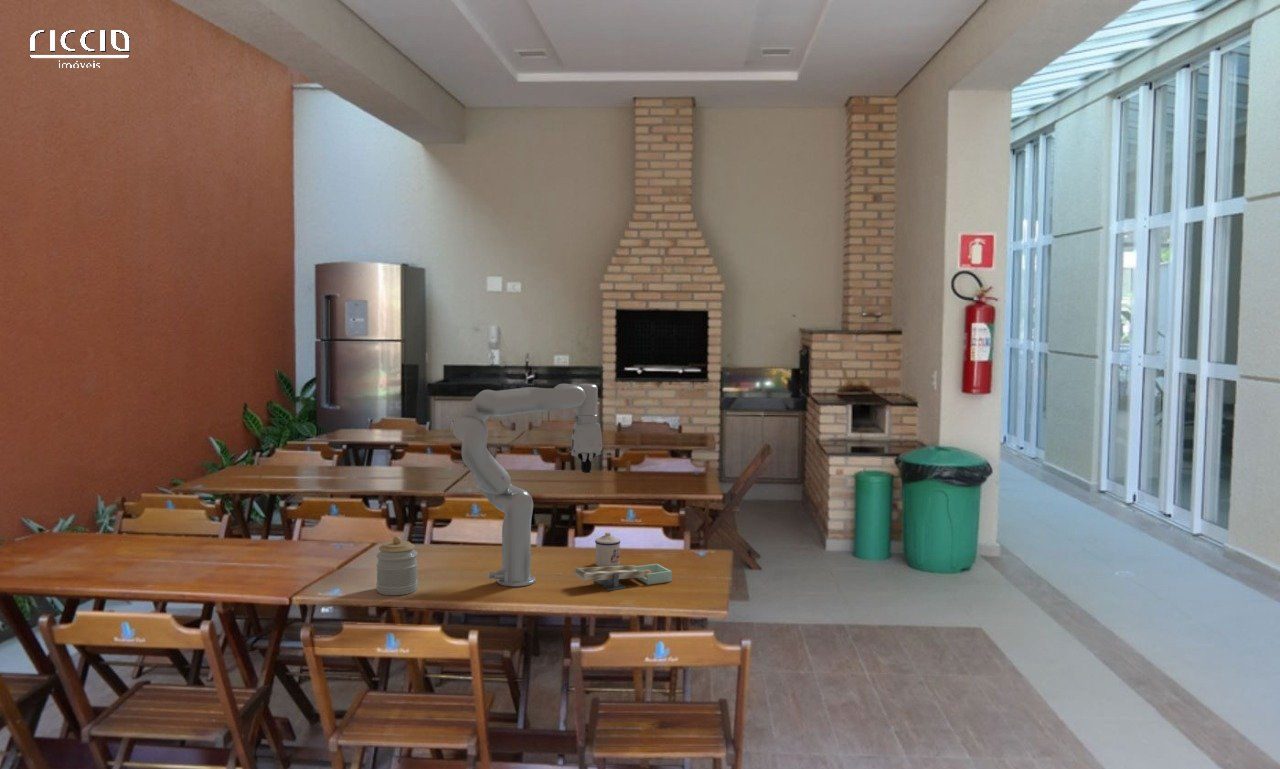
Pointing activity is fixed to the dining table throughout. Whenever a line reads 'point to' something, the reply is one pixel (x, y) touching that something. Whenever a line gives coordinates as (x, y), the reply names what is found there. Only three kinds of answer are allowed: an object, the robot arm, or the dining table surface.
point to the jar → (397, 568)
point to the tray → (655, 574)
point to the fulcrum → (611, 583)
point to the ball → (647, 572)
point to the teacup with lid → (607, 550)
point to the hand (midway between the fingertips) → (586, 472)
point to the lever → (608, 572)
